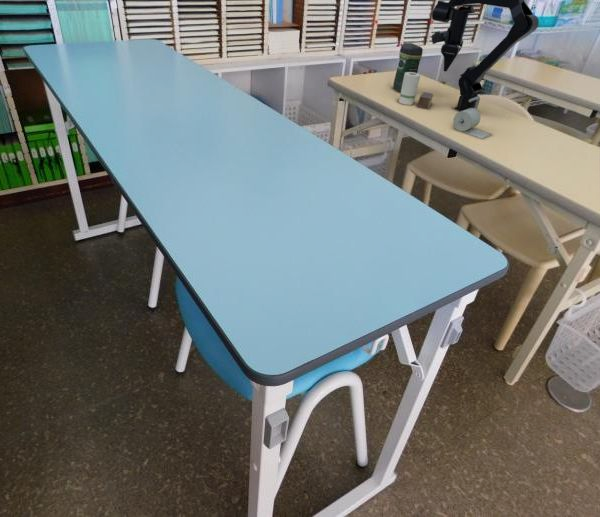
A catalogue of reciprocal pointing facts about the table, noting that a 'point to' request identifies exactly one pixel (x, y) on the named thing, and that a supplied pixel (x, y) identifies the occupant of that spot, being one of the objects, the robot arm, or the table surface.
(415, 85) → the cylindrical container with lid
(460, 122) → the toilet paper roll
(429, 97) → the wooden block
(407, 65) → the coffee jar
